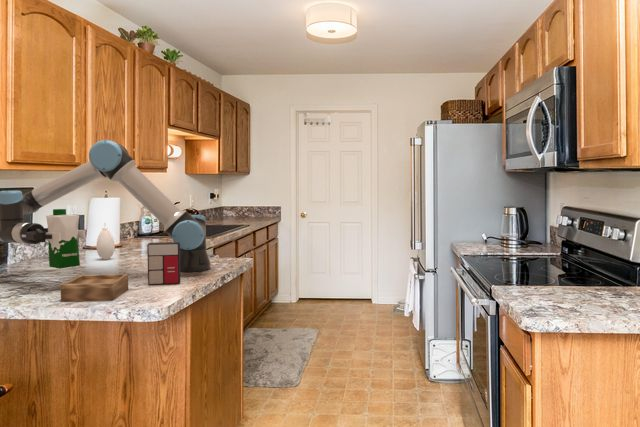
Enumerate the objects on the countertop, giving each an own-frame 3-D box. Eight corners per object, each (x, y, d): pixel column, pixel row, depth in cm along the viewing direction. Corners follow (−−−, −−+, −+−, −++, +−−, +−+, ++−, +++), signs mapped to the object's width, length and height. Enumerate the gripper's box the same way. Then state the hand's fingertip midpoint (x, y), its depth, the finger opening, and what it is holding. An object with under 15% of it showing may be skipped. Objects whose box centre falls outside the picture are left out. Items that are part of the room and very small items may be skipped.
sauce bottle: (93, 260, 223) (92, 222, 222) (107, 257, 230) (106, 221, 229) (104, 261, 219) (103, 223, 218) (118, 259, 226) (117, 222, 225)
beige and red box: (147, 285, 166) (146, 244, 165) (149, 283, 170) (148, 242, 169) (179, 284, 168) (178, 243, 167) (180, 282, 172) (180, 241, 172)
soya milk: (70, 263, 169) (68, 208, 167) (84, 265, 164) (82, 209, 162) (45, 267, 161) (42, 209, 160) (58, 269, 156) (56, 210, 155)
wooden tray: (128, 289, 160) (128, 274, 160) (113, 300, 145) (112, 283, 144) (81, 290, 158) (80, 275, 158) (60, 301, 143) (60, 284, 143)
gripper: (57, 240, 179) (99, 242, 170) (-1, 247, 160) (43, 250, 150) (56, 220, 179) (98, 222, 169) (-2, 225, 159) (42, 227, 150)
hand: (72, 235), depth 160 cm, fingers closed on soya milk, 9 cm apart
